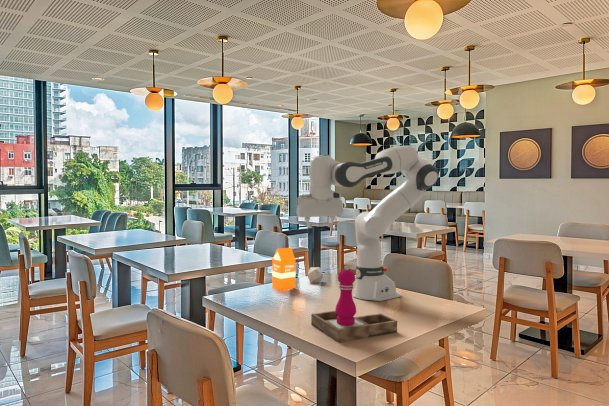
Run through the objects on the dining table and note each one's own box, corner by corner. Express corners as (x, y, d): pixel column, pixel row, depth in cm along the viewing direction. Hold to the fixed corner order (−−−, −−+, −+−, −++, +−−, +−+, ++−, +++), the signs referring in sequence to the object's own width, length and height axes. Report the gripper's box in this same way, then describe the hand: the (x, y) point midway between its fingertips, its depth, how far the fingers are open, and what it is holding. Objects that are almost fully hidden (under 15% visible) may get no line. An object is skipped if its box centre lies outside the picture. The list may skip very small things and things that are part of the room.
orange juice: (272, 287, 219) (272, 248, 218) (286, 285, 225) (286, 246, 224) (280, 291, 213) (281, 250, 212) (295, 288, 219) (296, 248, 218)
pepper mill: (333, 319, 156) (334, 263, 155) (353, 319, 157) (354, 263, 156) (337, 326, 149) (337, 267, 148) (358, 326, 150) (359, 267, 149)
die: (317, 286, 226) (327, 270, 229) (303, 277, 227) (313, 261, 230) (317, 288, 234) (326, 272, 236) (303, 279, 235) (312, 264, 238)
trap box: (365, 316, 175) (365, 305, 174) (396, 332, 157) (397, 320, 156) (311, 324, 164) (311, 313, 164) (338, 342, 146) (338, 329, 146)
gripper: (300, 194, 175) (300, 229, 176) (345, 194, 184) (344, 227, 184) (294, 194, 181) (293, 227, 181) (337, 193, 189) (337, 225, 190)
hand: (319, 227), depth 183 cm, fingers open, 8 cm apart
